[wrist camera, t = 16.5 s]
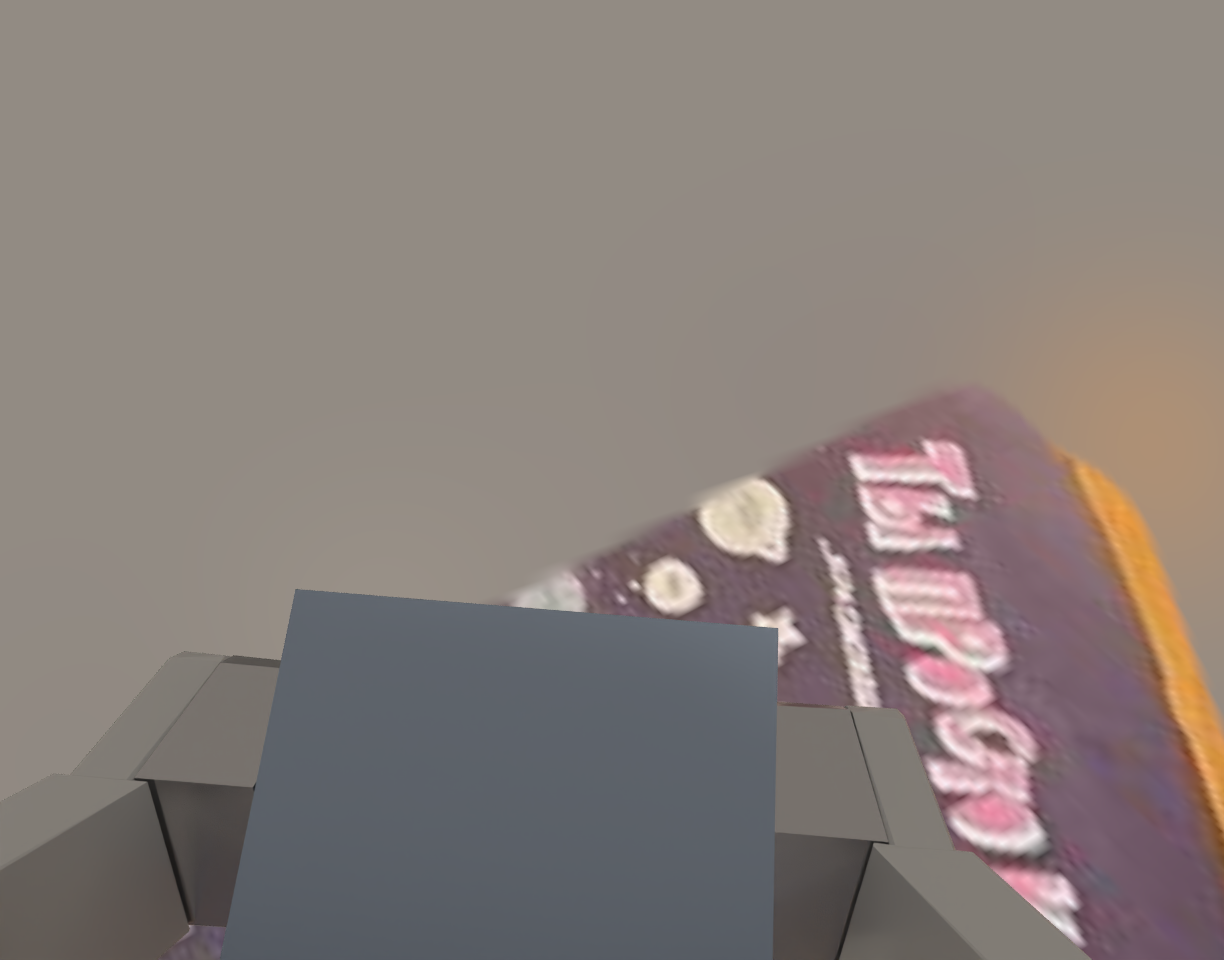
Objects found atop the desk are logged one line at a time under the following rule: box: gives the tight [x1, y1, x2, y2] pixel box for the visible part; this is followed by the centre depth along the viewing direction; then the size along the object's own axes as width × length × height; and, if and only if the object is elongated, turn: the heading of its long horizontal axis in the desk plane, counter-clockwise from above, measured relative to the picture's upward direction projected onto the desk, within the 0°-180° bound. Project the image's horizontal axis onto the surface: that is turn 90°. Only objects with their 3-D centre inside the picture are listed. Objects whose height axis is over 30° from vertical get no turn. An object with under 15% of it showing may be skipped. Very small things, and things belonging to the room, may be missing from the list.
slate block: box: [220, 589, 778, 960], centre depth 10 cm, size 3×4×8 cm
